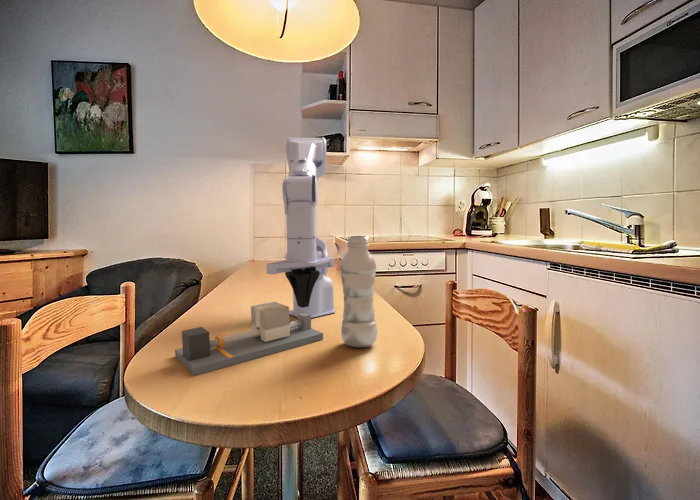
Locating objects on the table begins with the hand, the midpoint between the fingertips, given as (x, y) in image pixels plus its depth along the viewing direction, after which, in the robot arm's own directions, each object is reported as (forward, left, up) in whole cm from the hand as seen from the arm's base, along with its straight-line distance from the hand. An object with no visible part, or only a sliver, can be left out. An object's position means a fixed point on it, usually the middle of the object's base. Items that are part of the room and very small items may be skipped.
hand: (303, 306), depth 72 cm
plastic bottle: (-4, +12, -6) cm, 14 cm away
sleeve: (+7, 0, -4) cm, 8 cm away
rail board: (+11, 0, -6) cm, 12 cm away
